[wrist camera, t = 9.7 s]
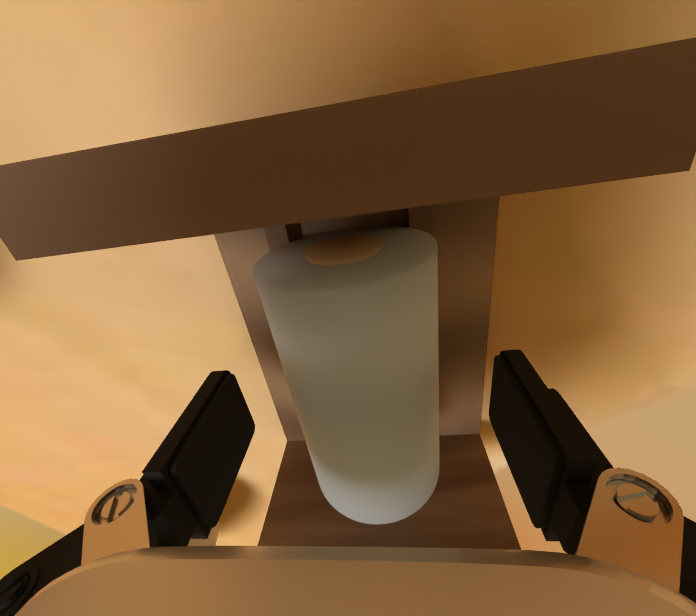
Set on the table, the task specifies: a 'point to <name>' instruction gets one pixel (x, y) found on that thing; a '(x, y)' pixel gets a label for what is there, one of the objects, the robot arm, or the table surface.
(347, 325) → the roll
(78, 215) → the cradle
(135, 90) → the table surface
